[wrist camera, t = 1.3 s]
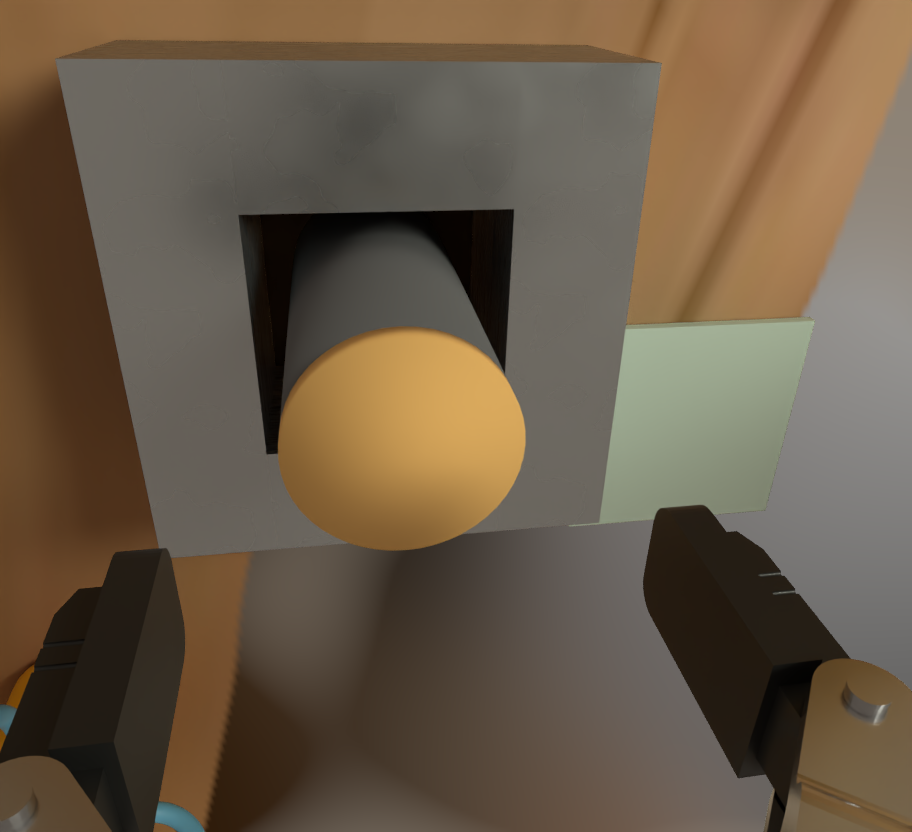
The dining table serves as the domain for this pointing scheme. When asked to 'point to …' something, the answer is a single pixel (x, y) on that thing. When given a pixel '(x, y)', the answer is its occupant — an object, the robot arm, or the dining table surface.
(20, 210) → the dining table surface
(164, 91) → the housing
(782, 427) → the mat
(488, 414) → the plug
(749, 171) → the dining table surface
